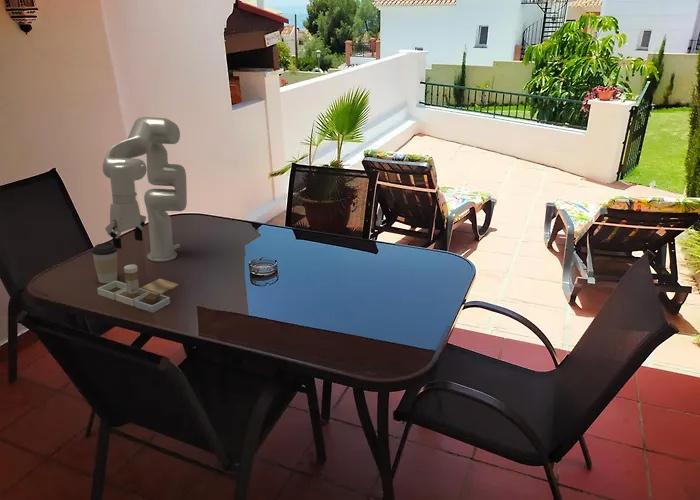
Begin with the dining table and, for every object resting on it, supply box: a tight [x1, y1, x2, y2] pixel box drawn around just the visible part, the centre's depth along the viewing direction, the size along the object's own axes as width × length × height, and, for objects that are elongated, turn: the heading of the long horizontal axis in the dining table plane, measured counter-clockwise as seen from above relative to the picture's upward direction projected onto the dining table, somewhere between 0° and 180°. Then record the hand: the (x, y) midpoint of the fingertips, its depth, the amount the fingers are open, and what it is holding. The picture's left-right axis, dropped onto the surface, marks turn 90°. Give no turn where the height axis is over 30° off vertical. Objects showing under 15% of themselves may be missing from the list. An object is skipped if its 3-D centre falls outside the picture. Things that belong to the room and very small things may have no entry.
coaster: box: [140, 278, 180, 295], centre depth 206 cm, size 10×10×1 cm
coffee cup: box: [91, 241, 118, 284], centre depth 207 cm, size 9×9×15 cm
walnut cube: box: [144, 293, 160, 305], centre depth 191 cm, size 4×4×4 cm
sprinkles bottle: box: [123, 264, 140, 299], centre depth 193 cm, size 5×5×14 cm
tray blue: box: [134, 292, 171, 314], centre depth 191 cm, size 9×9×3 cm
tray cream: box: [115, 287, 151, 307], centre depth 195 cm, size 9×9×3 cm
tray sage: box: [96, 280, 127, 301], centre depth 198 cm, size 9×9×3 cm
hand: (128, 243), depth 187 cm, fingers open, 9 cm apart
